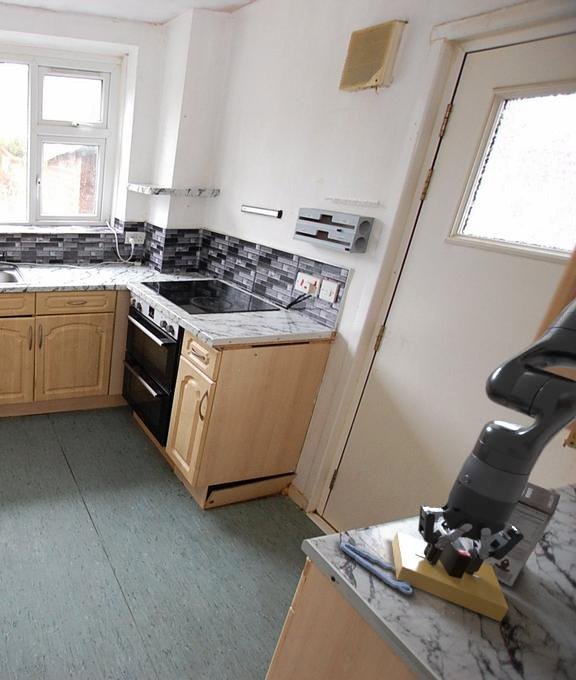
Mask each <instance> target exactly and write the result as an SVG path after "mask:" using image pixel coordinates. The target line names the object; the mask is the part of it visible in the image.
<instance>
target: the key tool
mask: <svg viewBox="0 0 576 680" xmlns="http://www.w3.org/2000/svg"><path fill="white" fill-rule="evenodd" d="M339 548H340V549H341V550H342V551H343V552H345V554H347V555H348V556H350V557H351V558H352V559H354V562H356V563H358V564H360V565H361V566H362V567H363V568H366V569H367V570H368V571H370V572H371V574H374V575H376V576H377V578H379V579H381V581H382V582H384V583H385V584H387V585H389V586H390V587H392V588H394V589H398V590H399V591H400V592H402V593H404V594H405V595H411V594H412V592H413V588H412V586H411V585H410V582H408V581H406V580H405V581H404V582H402V581H398V580H397V581H395V580H394V579H392V578H391V577H389V576H388V575H387V574H385V573H383V571H380V570H379V569H378V568H377V567H375V566H374V565H373V564H371V563H370V562H368V561H367V560H365V559H364V558H366V559H368V560H369V561H371V562H372V563H376V564H378V565H379V566H381V567H382V568H383V569H385V570H391V571H393V572H394V573H395V574H396V568H395V565H393V564H390V563H389V564H388V563H385V562H383V561H382V560H380V558H378V557H376V556H372V555H371V554H370V553H368V552H366V551H362V550H360V549H359V548H358V547H356V546H355V545H352V544H351V543H350V542H347V541H341V543H340V547H339Z"/></svg>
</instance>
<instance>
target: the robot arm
mask: <svg viewBox="0 0 576 680" xmlns="http://www.w3.org/2000/svg"><path fill="white" fill-rule="evenodd" d="M551 368H567V369H575V370H576V298H573V300H572V301H571V302H569V304H567V305H566V306H565V307H564V308H563V309H562V310H561V311H560V313H559V314H558V315H557V316H556V318H555V319H554V320H553V322H551V324H550V325H549V326H548V327H547V329H545V331H544V332H543V334H542V335H541V336H540V337H539V338H537V339H536V340H535V341H533V342H532V343H531V344H529V345H528V346H526V347H525V348H524V349H522V350H521V351H519V352H518V353H517V354H515V355H514V356H512V357H510V358H509V359H507V360H505V361H504V362H502V363H501V364H500V365H499V366H497V367H496V368H495V369H494V370H493V371H492V372H491V373H490V374H489V376H488V377H487V379H486V381H485V385H484V391H485V395H486V397H487V398H488V400H490V402H492V403H494V404H496V405H498V406H500V407H503V408H506V409H509V410H510V411H514V412H515V413H517V414H518V413H519V414H521V415H523V416H526V417H529V418H531V419H533V420H534V421H533V423H532V424H530V425H525V424H519V423H515V422H511V421H507V420H499V419H495V420H494V419H493V420H489V421H487V422H486V423H485V424H484V425H483V427H482V429H481V431H480V432H479V435H478V437H477V439H476V440H475V443H474V445H473V448H472V450H471V452H470V453H469V454H468V456H467V457H466V459H465V460H464V462H463V463H462V465H461V468H460V470H459V472H458V474H457V477H456V478H455V481H454V483H453V485H452V487H451V489H450V491H449V493H448V498H447V502H446V503H444V504H443V505H442V506H441V507H430V506H429V505H428V504H427V503H423V504H421V505H420V507H419V516H418V517H419V518H418V529H417V531H418V533H419V534H420V535H421V537H422V540H423V541H425V542H426V543H427V546H426V548H425V550H424V555H425V557H426V559H427V560H428V562H429V564H431V565H436V564H437V562H438V560H439V558H440V556H441V553H442V551H443V549H442V548H443V547H444V546H445V545H446V544H448V543H449V542H454V541H455V540H456V539H460V538H467V539H469V540H471V548H469V549H468V551H467V552H468V553H469V554H470V555H471V558H472V559H471V561H470V563H469V565H468V567H467V569H466V571H465V572H466V573H467V574H471V575H473V574H474V572H477V571H479V569H480V567H481V565H482V563H483V561H484V560H486V559H488V558H489V557H493V558H495V559H497V560H501V559H502V558H503V557H504V556H505V555H507V554H508V553H509V552H510V551H511V550H512V549H513V548H514V547H515V546H516V545H517V544H518V543H519V542H520V541H521V540H522V539H523V538H524V535H523V534H522V533H521V532H520V531H519V530H518V529H517V528H516V527H515V525H514V524H512V523H508V524H505V522H507V521H508V520H509V518H510V516H511V514H512V512H513V510H514V508H515V507H516V505H517V503H518V501H519V499H520V497H521V495H522V494H523V492H524V490H525V488H526V486H527V483H528V482H529V479H530V476H531V473H532V472H533V470H534V468H535V466H536V464H537V463H538V461H539V458H540V457H541V455H542V453H543V452H544V450H546V448H547V446H549V444H550V443H551V442H552V441H553V440H554V439H555V438H556V437H557V436H558V435H559V434H560V433H561V432H562V431H563V430H565V429H566V428H567V427H568V426H570V425H571V424H572V423H573V422H575V421H576V379H574V378H570V377H567V376H564V375H562V374H557V373H554V372H552V371H549V370H547V369H551ZM440 518H442V519H441V520H440V521H438V520H439V519H440ZM435 524H436V527H435ZM496 533H497V534H496ZM494 534H496V535H495V536H494V537H493V538H492V540H491V541H490V536H491V535H494ZM499 546H500V547H499ZM498 547H499V548H498ZM497 548H498V549H497Z"/></svg>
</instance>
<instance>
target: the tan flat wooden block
mask: <svg viewBox="0 0 576 680" xmlns="http://www.w3.org/2000/svg"><path fill="white" fill-rule="evenodd" d="M391 546H392V554H393V555H392V556H393V562H394V567H395V568H396V573H395V577H396V580H397V581H398V582H404V581H405V580H406V581H408V582H410V586H411V587H414V588H416V589H419V590H421V591H424V592H426V593H428V594H431V595H434V596H437V597H438V598H441V599H443V600H446V601H448V602H450V603H453V604H456V605H458V606H460V607H463V608H465V609H468V610H470V611H472V612H475V613H478V614H480V615H483V616H485V617H488V618H490V619H491V620H492V619H493V620H495V621H498V622H500V623H501V622H502V620H503V619H504V617H505V615H507V612H508V611H509V606H508V603H507V601H506V600H507V599H506V598H505V595H504V592H503V591H502V588H501V585H500V583H499V580H497V577H496V575H495V572H494V570H493V567H492V566H491V565H488V564H485V563H482V565H481V567H480V569H479V571H477V572H474V574H473V575H471V574H467V573H466V572H465V573H464V575H463V576H462V578H461V579H460V578H457V577H453V576H449V575H448V573H447V571H446V570H445V568H444V567H443V565H442V563H441V562H440V560H438V562H437V564H436V565H431V564H429V562H428V560H427V559H426V557H425V555H424V550H425V548H426V546H427V543H426V542H425V541H424V539H420V538H417V537H414V536H411V535H409V534H406V533H403V532H401V531H398V530H397V531H396V533H395V535H394V536H393V540H392V542H391Z"/></svg>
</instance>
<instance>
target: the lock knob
mask: <svg viewBox="0 0 576 680" xmlns="http://www.w3.org/2000/svg"><path fill="white" fill-rule="evenodd" d="M442 549H443V551H442V553H441V556H440V558H439V560H440V562H441V563H442V565H443V567H444V568H445V570H446V571H447V573H448V575H449V576H453V577H457V578H460V579H461V578H462V576H463V575H464V573H465V571H466V569H467V567H468V565H469V563H470V561H471V559H472V558H471V555H470V554H469V553H468V551H467V549H466V548H465V547H464V545H463V544H462V542H461V541H460V538H458V539H456V540H455V541H454V542H449V543H448V544H446V545H445V546H444V547H443V548H442Z"/></svg>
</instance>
